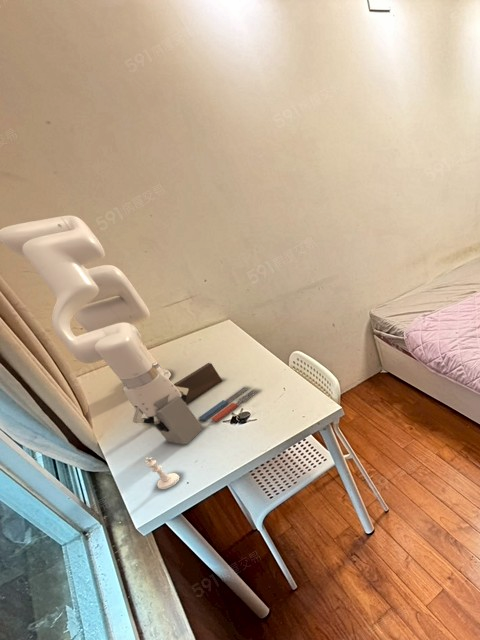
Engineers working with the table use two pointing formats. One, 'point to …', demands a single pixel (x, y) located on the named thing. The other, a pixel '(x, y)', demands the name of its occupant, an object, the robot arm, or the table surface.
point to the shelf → (199, 382)
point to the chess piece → (162, 475)
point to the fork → (232, 406)
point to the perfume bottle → (177, 420)
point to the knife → (221, 405)
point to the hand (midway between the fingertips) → (176, 422)
